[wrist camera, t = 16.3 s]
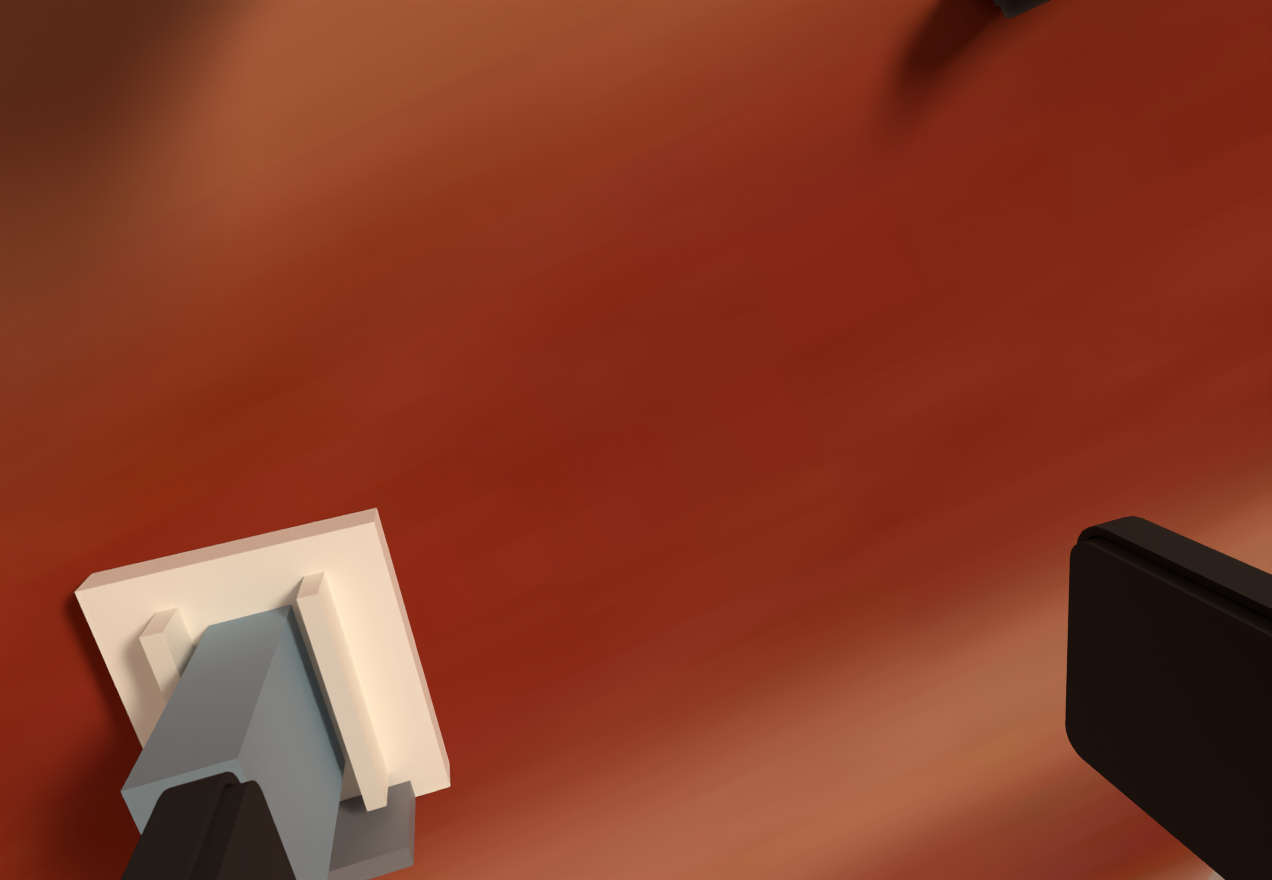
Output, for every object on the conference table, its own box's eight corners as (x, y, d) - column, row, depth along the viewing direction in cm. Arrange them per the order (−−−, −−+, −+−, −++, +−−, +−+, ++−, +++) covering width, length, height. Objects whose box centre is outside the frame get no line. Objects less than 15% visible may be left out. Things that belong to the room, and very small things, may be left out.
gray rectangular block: (208, 625, 39) (120, 791, 28) (291, 604, 40) (237, 758, 29) (269, 783, 42) (212, 988, 31) (345, 761, 43) (315, 954, 32)
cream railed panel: (91, 573, 39) (23, 647, 33) (376, 507, 42) (366, 563, 35) (203, 836, 45) (164, 944, 38) (449, 763, 47) (452, 852, 41)
